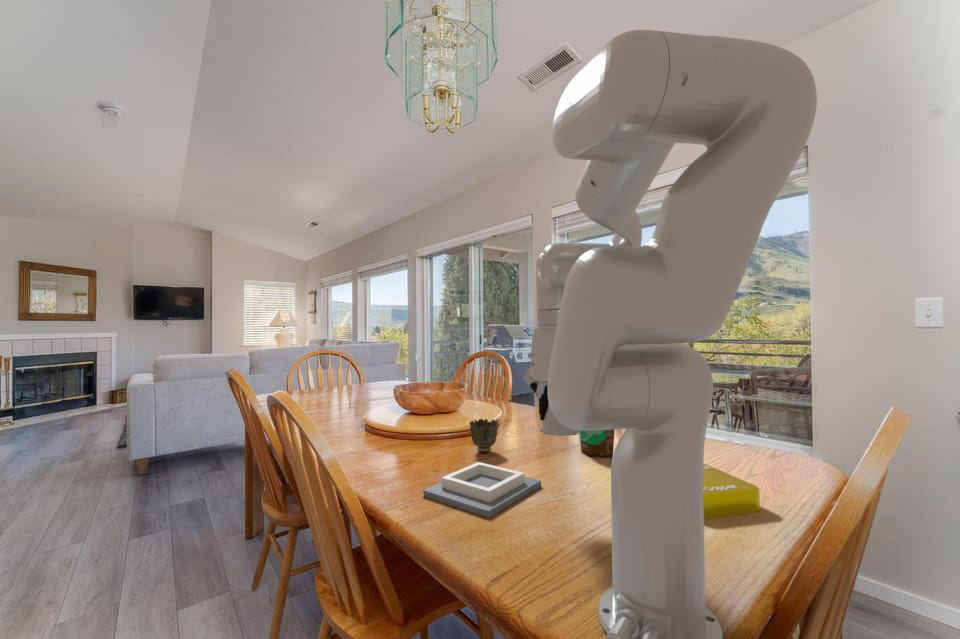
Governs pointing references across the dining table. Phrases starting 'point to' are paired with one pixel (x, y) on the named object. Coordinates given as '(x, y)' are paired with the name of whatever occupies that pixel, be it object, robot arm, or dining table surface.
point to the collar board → (482, 488)
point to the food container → (597, 443)
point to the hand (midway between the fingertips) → (559, 419)
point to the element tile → (728, 494)
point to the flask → (555, 426)
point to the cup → (484, 434)
